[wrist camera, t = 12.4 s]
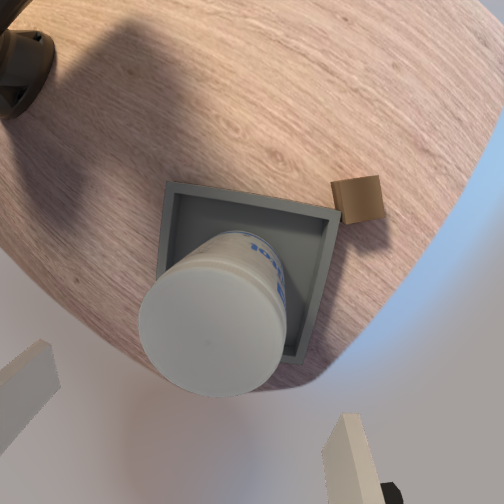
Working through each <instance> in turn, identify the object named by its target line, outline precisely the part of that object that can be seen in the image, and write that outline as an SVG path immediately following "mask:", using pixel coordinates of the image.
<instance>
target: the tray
mask: <svg viewBox="0 0 504 504" xmlns="http://www.w3.org/2000/svg"><path fill="white" fill-rule="evenodd" d="M340 217H341V211H338V210H336V209H331V208H327V207H322V206H317V205H312V204H307V203H302V202H297V201H292V200H287V199H281V198H276V197H271V196H265V195H259V194H254V193H248V192H242V191H236V190H229V189H223V188H217V187H210V186H203V185H196V184H189V183H182V182H169V181H167V182H166V189H165V196H164V204H163V211H162V220H161V229H160V238H159V248H158V260H157V272H156V281H157V280H158V278H159V277H160V276H161V275H163V274H164V273H165V272H166V271H167V270H169V269H170V268H171V267H172V266H174V265H175V264H176V263H178V262H179V261H180V260H182V259H183V258H184V257H186V256H187V255H188V254H190V253H191V252H193V251H194V250H195V249H197V248H198V247H199V246H201V245H202V244H204V243H205V242H206V241H208V240H209V239H211V238H212V237H214V236H216V235H218V234H220V233H223V232H227V231H246V232H250V233H253V234H255V235H257V236H259V237H261V238H262V239H264V240H265V241H266V242H268V243H269V244H270V245H271V246H272V247H273V248H274V250H275V251H276V252H277V254H278V256H279V257H280V260H281V263H282V266H283V271H284V283H285V299H286V325H287V328H286V338H285V343H284V348H283V353H282V357H281V360H280V362H282V363H288V364H295V365H302V364H303V361H304V358H305V355H306V352H307V348H308V345H309V342H310V338H311V335H312V331H313V328H314V324H315V321H316V317H317V313H318V310H319V306H320V302H321V299H322V295H323V291H324V287H325V283H326V279H327V275H328V271H329V267H330V263H331V258H332V254H333V250H334V245H335V241H336V236H337V231H338V227H339V222H340Z"/></svg>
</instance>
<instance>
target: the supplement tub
mask: <svg viewBox="0 0 504 504" xmlns="http://www.w3.org/2000/svg"><path fill="white" fill-rule="evenodd" d="M286 328H287V325H286V299H285V283H284V271H283V266H282V263H281V260H280V257H279V256H278V254H277V252H276V251H275V250H274V248H273V247H272V246H271V245H270V244H269V243H268V242H266V241H265V240H264V239H262V238H261V237H259V236H257V235H255V234H253V233H250V232H246V231H227V232H223V233H220V234H218V235H216V236H214V237H212V238H211V239H209V240H208V241H206V242H205V243H204V244H202V245H201V246H199V247H198V248H197V249H195V250H194V251H193V252H191V253H190V254H188V255H187V256H186V257H184V258H183V259H182V260H180V261H179V262H178V263H176V264H175V265H174V266H172V267H171V268H170V269H169V270H167V271H166V272H165V273H164V274H163V275H161V276H160V277H159V278H158V280H157V281H156V282H155V283H154V285H153V286H152V287H151V288H150V290H149V291H148V292H147V294H146V295H145V297H144V299H143V301H142V304H141V307H140V310H139V316H138V330H139V336H140V340H141V343H142V346H143V348H144V351H145V353H146V355H147V356H148V358H149V360H150V361H151V363H152V364H153V365H154V366H155V368H156V369H157V370H158V371H159V372H160V373H161V374H162V375H163V376H164V377H166V378H167V379H168V380H169V381H171V382H172V383H174V384H175V385H177V386H179V387H181V388H183V389H185V390H187V391H189V392H192V393H195V394H198V395H202V396H207V397H232V396H238V395H241V394H245V393H247V392H250V391H252V390H254V389H256V388H257V387H259V386H260V385H262V384H263V383H264V382H266V381H267V380H268V379H269V378H270V376H271V375H272V374H273V373H274V371H275V370H276V368H277V366H278V364H279V362H280V360H281V357H282V353H283V348H284V343H285V338H286Z"/></svg>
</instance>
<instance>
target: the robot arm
mask: <svg viewBox="0 0 504 504" xmlns="http://www.w3.org/2000/svg"><path fill="white" fill-rule="evenodd" d="M31 1H32V0H0V118H3V119H12V118H15V117H17V116H18V115H20V114H21V113H22V112H23V111H25V110H26V109H27V107H28V106H29V105H30V104H31V103H32V101H33V100H34V99H35V97H36V96H37V94H38V93H39V91H40V89H41V88H42V86H43V84H44V82H45V80H46V78H47V75H48V73H49V70H50V67H51V64H52V60H53V54H54V44H53V41H52V39H51V37H50V36H48V35H47V34H45V33H43V32H41V31H37V30H9V29H7V28H8V27H9V26H10V24H11V23H12V22H13V21H14V20H15V19H16V17H17V16H18V15H19V14H20V13H21V12H22V11H23V10H24V9H25V8H26V7H27V6H28V5H29V3H30V2H31ZM60 388H61V385H60V382H59V378H58V374H57V370H56V365H55V361H54V356H53V352H52V347H51V344H50V343H48V342H46V341H44V340H42V339H39V340H38V341H36V342H35V343H34V344H32V345H31V346H30V347H29V348H27V349H26V350H25V351H24V352H22V353H21V354H20V355H19V356H17V357H16V358H15V359H14V360H12V361H11V362H10V363H9V364H7V365H6V366H5V367H4V368H3V369H1V370H0V456H1V455H2V454H3V452H4V451H5V450H6V449H7V448H8V446H9V445H10V444H11V443H12V442H13V440H14V439H15V438H16V437H17V436H18V434H19V433H20V432H21V431H22V430H23V429H24V428H25V427H26V425H27V424H28V423H29V422H30V421H31V420H32V419H33V417H34V416H35V415H36V414H37V413H38V412H39V411H40V410H41V408H42V407H43V406H44V405H45V404H46V403H47V402H48V401H49V400H50V398H51V397H52V396H53V395H54V394H55V393H56V392H57V391H58V390H59V389H60ZM322 457H323V465H324V472H325V480H326V487H327V495H328V504H403V498H402V495H401V492H400V490H399V489H398V488H397V487H396V486H395V484H394V483H393V482H388V483H381V484H380V482H379V479H378V475H377V472H376V469H375V465H374V461H373V458H372V455H371V451H370V448H369V445H368V441H367V438H366V435H365V432H364V428H363V425H362V422H361V419H360V416H359V414H358V413H342V414H341V416H340V418H339V420H338V422H337V424H336V426H335V428H334V430H333V432H332V434H331V435H330V437H329V439H328V441H327V443H326V445H325V446H324V448H323V450H322Z"/></svg>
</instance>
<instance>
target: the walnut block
mask: <svg viewBox="0 0 504 504" xmlns="http://www.w3.org/2000/svg"><path fill="white" fill-rule="evenodd" d="M331 187H332V193H333V198H334V204H335V209H336V210H338V211H341V217H340V221H341V222H342V223H344V224H352V223H357V222H362V221H368V220H373V219H379V218H384V217H385V212H384V205H383V199H382V192H381V186H380V180H379V175H377V176H366V177H360V178H353V179H347V180H340V181H334V182H331Z"/></svg>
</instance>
